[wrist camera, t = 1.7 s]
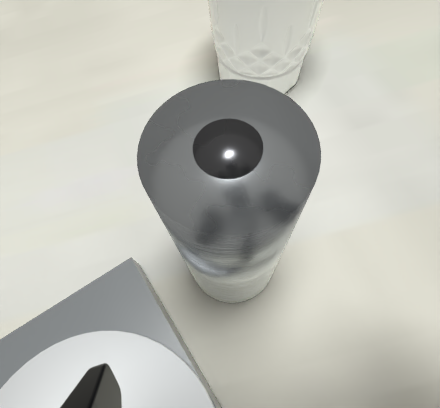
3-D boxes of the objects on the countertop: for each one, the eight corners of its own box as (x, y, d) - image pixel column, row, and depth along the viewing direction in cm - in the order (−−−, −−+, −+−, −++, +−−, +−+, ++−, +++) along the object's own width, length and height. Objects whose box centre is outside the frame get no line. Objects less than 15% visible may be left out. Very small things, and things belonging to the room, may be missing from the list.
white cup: (194, 61, 28) (174, -80, 19) (269, 23, 29) (284, -123, 20) (246, 123, 25) (253, -8, 16) (327, 78, 27) (375, -65, 17)
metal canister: (290, 270, 20) (362, 165, 9) (220, 320, 19) (199, 274, 8) (241, 207, 22) (248, 53, 11) (176, 250, 21) (105, 129, 10)
